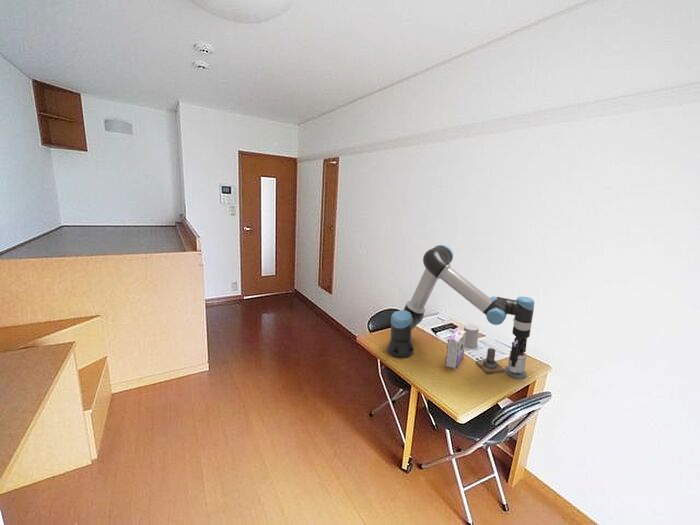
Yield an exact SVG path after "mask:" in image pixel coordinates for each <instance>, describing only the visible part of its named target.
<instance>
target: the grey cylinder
mask: <svg viewBox="0 0 700 525" xmlns="http://www.w3.org/2000/svg"><path fill="white" fill-rule="evenodd" d="M525 353H526V352H521V351H519V355H518V359H517V361H518V363H517V370H516V373H522V372H523V371H525V367H526V362H527V354H525ZM510 355H511V350H510V351H509V357H508V363H507V366H508V368H509V369H510V366H511V360H510V359H509V358H510Z"/></svg>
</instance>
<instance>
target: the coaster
mask: <svg viewBox="0 0 700 525" xmlns="http://www.w3.org/2000/svg"><path fill="white" fill-rule="evenodd" d="M504 369H505V370H504V373H505V374H506V375H507V376H509V377H510V378H513V379H515V380H516V379H517V380H523V379H526V378H527V377H528V376H527V372H526V370H524V371H523V372H522V373H514V372H512V371H510V369H509V368H508V365H507V366H505V367H504Z"/></svg>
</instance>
